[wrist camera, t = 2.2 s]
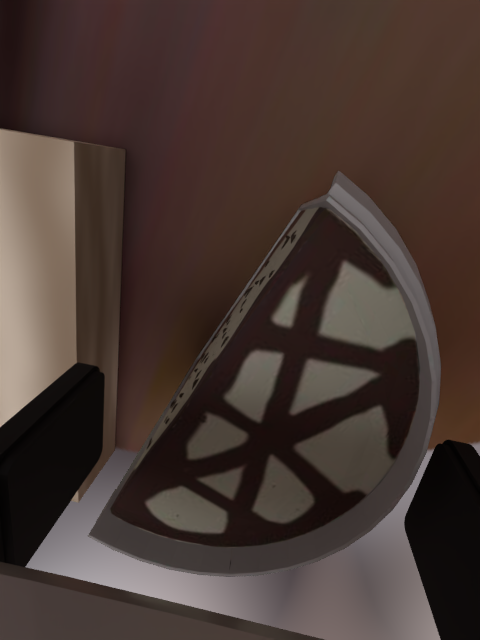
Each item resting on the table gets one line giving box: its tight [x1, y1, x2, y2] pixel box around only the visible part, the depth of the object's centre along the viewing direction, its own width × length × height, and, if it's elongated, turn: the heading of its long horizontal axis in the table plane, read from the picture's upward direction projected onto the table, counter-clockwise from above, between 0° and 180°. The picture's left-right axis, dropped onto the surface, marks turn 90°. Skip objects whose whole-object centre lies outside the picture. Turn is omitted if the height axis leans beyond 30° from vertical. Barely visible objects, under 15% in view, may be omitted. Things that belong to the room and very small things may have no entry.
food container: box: [88, 171, 441, 577], centre depth 14 cm, size 12×6×10 cm, turn 147°
